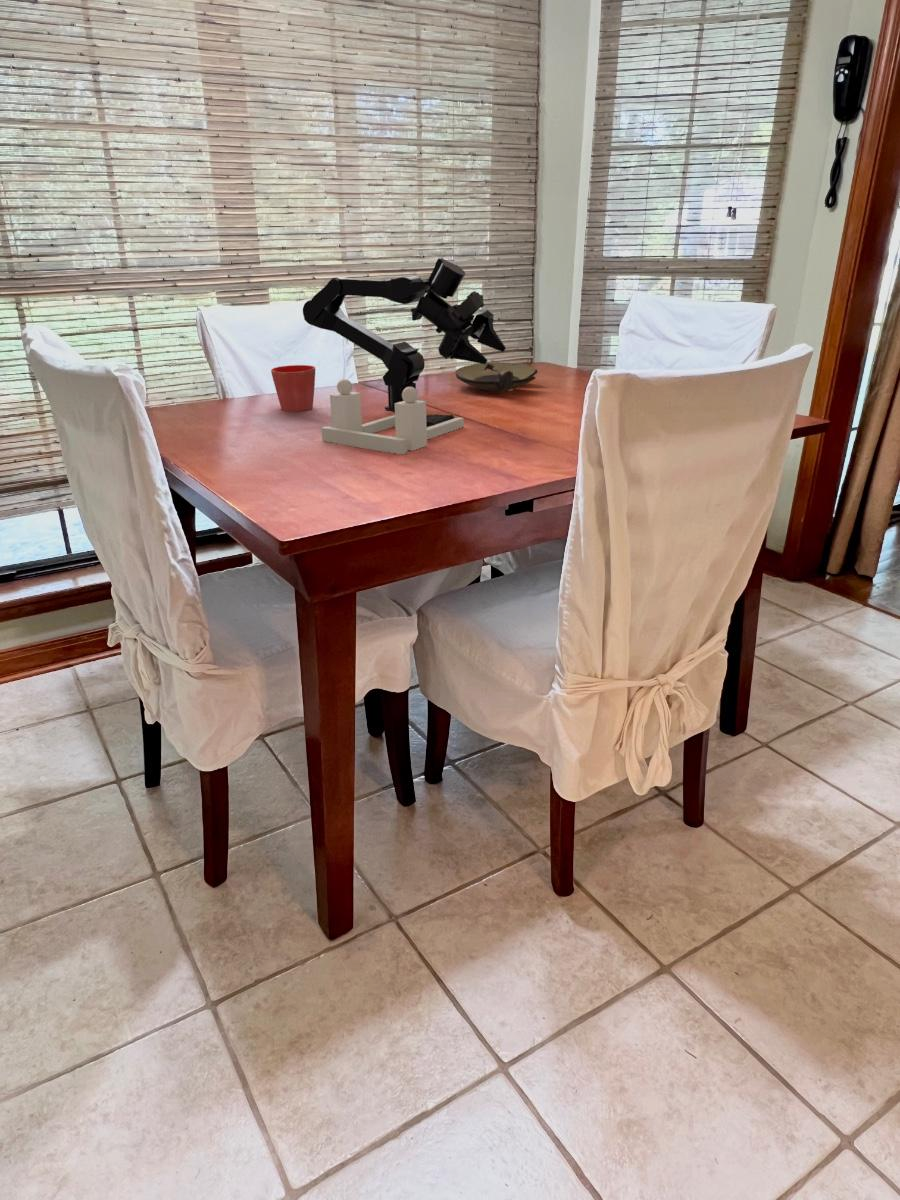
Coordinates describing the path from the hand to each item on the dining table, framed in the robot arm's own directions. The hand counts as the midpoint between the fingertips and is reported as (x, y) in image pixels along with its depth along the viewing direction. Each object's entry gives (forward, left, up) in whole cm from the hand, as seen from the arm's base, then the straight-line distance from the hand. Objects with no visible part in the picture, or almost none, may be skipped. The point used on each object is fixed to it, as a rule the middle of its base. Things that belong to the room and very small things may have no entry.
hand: (495, 355), depth 184 cm
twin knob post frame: (-8, -26, -14) cm, 30 cm away
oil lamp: (-18, +28, -14) cm, 36 cm away
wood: (-7, -18, -14) cm, 24 cm away
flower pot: (-47, -18, -14) cm, 52 cm away
